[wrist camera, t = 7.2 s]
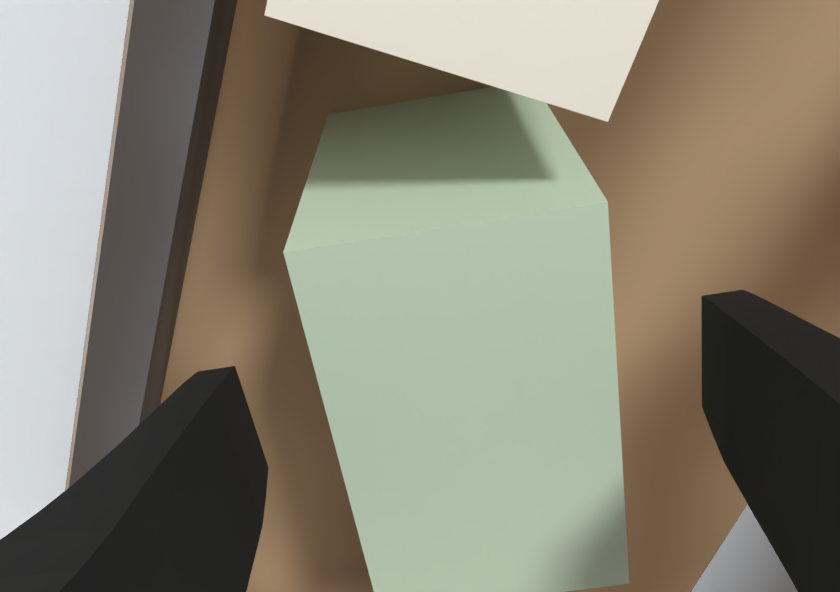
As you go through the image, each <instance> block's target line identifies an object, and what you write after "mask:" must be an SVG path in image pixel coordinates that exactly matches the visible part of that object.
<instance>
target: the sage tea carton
mask: <svg viewBox="0 0 840 592" xmlns="http://www.w3.org/2000/svg"><path fill="white" fill-rule="evenodd" d="M283 253H284V257H285V261H286V265H287V268H288V272H289V276H290V280H291V283H292V287H293V291H294V295H295V298H296V302H297V306H298V310H299V313H300V317H301V321H302V325H303V328H304V332H305V336H306V340H307V343H308V347H309V351H310V355H311V358H312V362H313V366H314V370H315V373H316V377H317V381H318V385H319V388H320V392H321V396H322V400H323V403H324V407H325V411H326V415H327V418H328V422H329V426H330V430H331V433H332V437H333V441H334V445H335V448H336V452H337V456H338V460H339V463H340V467H341V471H342V475H343V478H344V482H345V486H346V490H347V493H348V497H349V501H350V505H351V508H352V512H353V516H354V520H355V523H356V527H357V531H358V535H359V538H360V542H361V546H362V550H363V553H364V557H365V561H366V565H367V568H368V572H369V576H370V580H371V583H372V587H373V591H374V592H566V591H574V590H582V589H590V588H598V587H606V586H614V585H621V584H629V569H628V551H627V533H626V515H625V498H624V480H623V462H622V444H621V427H620V409H619V391H618V373H617V355H616V338H615V320H614V302H613V284H612V267H611V249H610V231H609V213H608V201H607V199H606V198H605V196H604V195H603V193H602V191H601V190H600V188H599V187H598V185H597V183H596V182H595V180H594V179H593V177H592V175H591V174H590V172H589V171H588V169H587V167H586V166H585V164H584V163H583V161H582V159H581V158H580V156H579V154H578V153H577V151H576V150H575V148H574V146H573V145H572V143H571V142H570V140H569V138H568V137H567V135H566V134H565V132H564V130H563V129H562V127H561V126H560V124H559V122H558V121H557V119H556V118H555V116H554V114H553V113H552V111H551V109H550V108H549V106H548V105H547V103H545V102H542V101H539V100H536V99H532V98H529V97H526V96H523V95H519V94H516V93H513V92H510V91H507V90H503V89H500V88H497V87H494V86H493V87H487V88H481V89H475V90H469V91H463V92H457V93H451V94H445V95H439V96H433V97H427V98H421V99H415V100H409V101H403V102H397V103H391V104H385V105H379V106H373V107H367V108H361V109H355V110H349V111H343V112H337V113H331V114H328V117H327V120H326V123H325V126H324V129H323V132H322V135H321V138H320V141H319V144H318V147H317V150H316V153H315V157H314V160H313V163H312V166H311V169H310V172H309V175H308V178H307V181H306V184H305V187H304V190H303V193H302V196H301V199H300V203H299V206H298V209H297V212H296V215H295V218H294V221H293V224H292V227H291V230H290V233H289V236H288V239H287V242H286V245H285V249H284V252H283Z"/></svg>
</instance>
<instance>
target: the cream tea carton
mask: <svg viewBox="0 0 840 592" xmlns="http://www.w3.org/2000/svg"><path fill="white" fill-rule="evenodd" d="M658 2H659V0H267V5H266V9H265V14H264V15H265V16H268V17H271V18H275V19H278V20H281V21H284V22H288V23H291V24H294V25H297V26H300V27H304V28H307V29H310V30H313V31H317V32H320V33H323V34H326V35H329V36H333V37H336V38H339V39H342V40H346V41H349V42H352V43H355V44H358V45H362V46H365V47H368V48H371V49H375V50H378V51H381V52H384V53H387V54H391V55H394V56H397V57H400V58H403V59H407V60H410V61H413V62H416V63H420V64H423V65H426V66H429V67H432V68H436V69H439V70H442V71H445V72H449V73H452V74H455V75H458V76H461V77H465V78H468V79H471V80H474V81H478V82H481V83H484V84H487V85H490V86H494V87H497V88H500V89H503V90H507V91H510V92H513V93H516V94H519V95H523V96H526V97H529V98H532V99H536V100H539V101H542V102H545V103H548V104H552V105H555V106H558V107H561V108H565V109H568V110H571V111H574V112H577V113H581V114H584V115H587V116H590V117H594V118H597V119H600V120H603V121H606V122H608V121H609V118H610V116H611V113H612V111H613V109H614V106H615V104H616V102H617V99H618V97H619V94H620V92H621V90H622V87H623V85H624V83H625V80H626V78H627V75H628V73H629V71H630V68H631V66H632V63H633V61H634V59H635V56H636V54H637V52H638V49H639V47H640V44H641V42H642V40H643V37H644V35H645V33H646V30H647V28H648V25H649V23H650V21H651V18H652V16H653V14H654V11H655V9H656V6H657V4H658Z"/></svg>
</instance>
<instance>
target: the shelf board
mask: <svg viewBox="0 0 840 592" xmlns="http://www.w3.org/2000/svg"><path fill="white" fill-rule="evenodd" d="M266 5H267V0H130V5H129V13H128V20H127V28H126V35H125V43H124V50H123V58H122V65H121V73H120V81H119V88H118V96H117V103H116V111H115V118H114V126H113V133H112V141H111V149H110V156H109V164H108V171H107V179H106V186H105V194H104V201H103V209H102V216H101V224H100V232H99V239H98V247H97V254H96V262H95V269H94V277H93V284H92V292H91V299H90V307H89V315H88V322H87V330H86V337H85V345H84V352H83V360H82V367H81V375H80V383H79V390H78V398H77V405H76V413H75V420H74V428H73V435H72V443H71V450H70V458H69V466H68V473H67V481H66V488H65V491H66V490H67V489H68V488H69V487H70V486H72V485H73V484H74V483H75V482H76V481H77V480H78V479H80V478H81V477H82V476H83V475H84V474H85V473H87V472H88V471H89V470H90V469H91V468H92V467H93V466H95V465H96V464H97V463H98V462H99V461H100V460H101V459H103V458H104V457H105V456H106V455H107V454H108V453H110V452H111V451H112V450H113V449H114V448H115V447H116V446H117V445H118V444H119V443H121V442H122V441H123V440H124V439H125V438H126V437H127V436H128V435H129V434H130V433H131V432H132V431H133V430H134V429H135V428H136V427H137V426H139V425H140V424H141V423H142V422H143V421H144V420H145V419H146V418H147V417H148V416H149V415H150V414H151V413H152V412H153V411H154V410H155V409H156V408H157V407H158V406H160V405H161V404H162V403H163V402H164V401H165V400H166V399H167V398H168V397H169V396H170V395H171V394H172V393H173V392H174V391H175V390H176V389H177V388H179V387H180V386H181V385H182V384H183V383H184V382H185V381H186V380H188V379H189V378H190V377H191V376H192V375H194V374H195V373H196V372H198V371H204V370H211V369H218V368H224V367H231V366H235V367H236V370H237V373H238V376H239V379H240V382H241V386H242V389H243V392H244V395H245V398H246V401H247V404H248V407H249V410H250V413H251V416H252V419H253V422H254V425H255V428H256V431H257V434H258V437H259V440H260V443H261V446H262V449H263V452H264V455H265V458H266V461H267V464H268V467H269V468H268V480H267V491H266V501H265V510H264V518H263V525H262V530H261V534H260V538H259V543H258V547H257V551H256V555H255V559H254V563H253V567H252V571H251V575H250V579H249V583H248V587H247V591H246V592H374V591H373V587H372V583H371V580H370V576H369V572H368V568H367V565H366V561H365V557H364V553H363V550H362V546H361V542H360V538H359V535H358V531H357V527H356V523H355V520H354V516H353V512H352V508H351V505H350V501H349V497H348V493H347V490H346V486H345V482H344V478H343V475H342V471H341V467H340V463H339V460H338V456H337V452H336V448H335V445H334V441H333V437H332V433H331V430H330V426H329V422H328V418H327V415H326V411H325V407H324V403H323V400H322V396H321V392H320V388H319V385H318V381H317V377H316V373H315V370H314V366H313V362H312V358H311V355H310V351H309V347H308V343H307V340H306V336H305V332H304V328H303V325H302V321H301V317H300V313H299V310H298V306H297V302H296V298H295V295H294V291H293V287H292V283H291V280H290V276H289V272H288V268H287V265H286V261H285V257H284V253H283V252H284V249H285V245H286V242H287V239H288V236H289V233H290V230H291V227H292V224H293V221H294V218H295V215H296V212H297V209H298V206H299V203H300V199H301V196H302V193H303V190H304V187H305V184H306V181H307V178H308V175H309V172H310V169H311V166H312V163H313V160H314V157H315V153H316V150H317V147H318V144H319V141H320V138H321V135H322V132H323V129H324V126H325V123H326V120H327V117H328V114H331V113H337V112H343V111H349V110H355V109H361V108H367V107H373V106H379V105H385V104H391V103H397V102H403V101H409V100H415V99H421V98H427V97H433V96H439V95H445V94H451V93H457V92H463V91H469V90H475V89H481V88H487V87H493V86H490V85H487V84H484V83H481V82H478V81H474V80H471V79H468V78H465V77H461V76H458V75H455V74H452V73H449V72H445V71H442V70H439V69H436V68H432V67H429V66H426V65H423V64H420V63H416V62H413V61H410V60H407V59H403V58H400V57H397V56H394V55H391V54H387V53H384V52H381V51H378V50H375V49H371V48H368V47H365V46H362V45H358V44H355V43H352V42H349V41H346V40H342V39H339V38H336V37H333V36H329V35H326V34H323V33H320V32H317V31H313V30H310V29H307V28H304V27H300V26H297V25H294V24H291V23H288V22H284V21H281V20H278V19H275V18H271V17H268V16H265V15H264V14H265V9H266ZM547 105H548V106H549V108H550V109H551V111H552V113H553V114H554V116H555V118H556V119H557V121H558V122H559V124H560V126H561V127H562V129H563V130H564V132H565V134H566V135H567V137H568V138H569V140H570V142H571V143H572V145H573V146H574V148H575V150H576V151H577V153H578V154H579V156H580V158H581V159H582V161H583V163H584V164H585V166H586V167H587V169H588V171H589V172H590V174H591V175H592V177H593V179H594V180H595V182H596V183H597V185H598V187H599V188H600V190H601V191H602V193H603V195H604V196H605V198H606V199H607V201H608V213H609V231H610V249H611V267H612V284H613V302H614V320H615V338H616V355H617V373H618V391H619V409H620V427H621V444H622V462H623V480H624V498H625V515H626V533H627V551H628V569H629V584H621V585H614V586H606V587H598V588H590V589H582V590H574V591H566V592H691V591H692V589H693V588H694V586H695V584H696V583H697V581H698V580H699V578H700V577H701V575H702V574H703V572H704V570H705V569H706V567H707V566H708V564H709V563H710V561H711V560H712V558H713V557H714V555H715V553H716V552H717V550H718V549H719V547H720V546H721V544H722V543H723V541H724V540H725V538H726V536H727V535H728V533H729V532H730V530H731V529H732V527H733V526H734V524H735V522H736V521H737V519H738V518H739V516H740V515H741V513H742V512H743V510H744V509H745V507H746V505H747V502H746V500H745V498H744V497H743V495H742V493H741V491H740V490H739V488H738V486H737V484H736V482H735V481H734V479H733V477H732V475H731V474H730V472H729V470H728V468H727V466H726V465H725V463H724V461H723V458H722V456H721V454H720V451H719V449H718V446H717V444H716V442H715V439H714V437H713V434H712V432H711V429H710V426H709V424H708V421H707V419H706V416H705V413H704V411H703V408H702V300H701V296H703V295H710V294H717V293H723V292H730V291H737V290H745V291H748V292H750V293H752V294H754V295H756V296H759V297H761V298H763V299H765V300H767V301H769V302H771V303H773V304H775V305H776V306H778V307H780V308H782V309H784V310H786V311H788V312H790V313H792V314H794V315H796V316H798V317H800V318H801V319H803V320H805V321H807V322H809V323H811V324H813V325H815V326H817V327H819V328H821V329H823V330H825V331H827V332H829V333H831V334H833V335H835V336H837V337H839V338H840V0H659V2H658V4H657V6H656V9H655V11H654V14H653V16H652V18H651V21H650V23H649V25H648V28H647V30H646V33H645V35H644V37H643V40H642V42H641V44H640V47H639V49H638V52H637V54H636V56H635V59H634V61H633V63H632V66H631V68H630V71H629V73H628V75H627V78H626V80H625V83H624V85H623V87H622V90H621V92H620V94H619V97H618V99H617V102H616V104H615V106H614V109H613V111H612V113H611V116H610V118H609V121H608V122H606V121H603V120H600V119H597V118H594V117H590V116H587V115H584V114H581V113H577V112H574V111H571V110H568V109H565V108H561V107H558V106H555V105H552V104H548V103H547Z"/></svg>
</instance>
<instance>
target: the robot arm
mask: <svg viewBox="0 0 840 592" xmlns="http://www.w3.org/2000/svg"><path fill="white" fill-rule="evenodd" d="M701 300H702V408H703V411H704V413H705V416H706V419H707V421H708V424H709V426H710V429H711V432H712V434H713V437H714V439H715V442H716V444H717V446H718V449H719V451H720V454H721V456H722V458H723V461H724V463H725V465H726V466H727V468H728V470H729V472H730V474H731V475H732V477H733V479H734V481H735V482H736V484H737V486H738V488H739V490H740V491H741V493H742V495H743V497H744V498H745V500H746V502H747V504H748V505H749V507H750V509H751V511H752V512H753V514H754V516H755V517H756V519H757V521H758V523H759V524H760V526H761V528H762V529H763V531H764V533H765V535H766V536H767V538H768V540H769V542H770V543H771V545H772V547H773V548H774V550H775V552H776V554H777V555H778V557H779V559H780V561H781V562H782V564H783V566H784V567H785V569H786V571H787V573H788V574H789V576H790V578H791V580H792V581H793V583H794V585H795V587H796V589H797V591H798V592H840V338H839V337H837V336H835V335H833V334H831V333H829V332H827V331H825V330H823V329H821V328H819V327H817V326H815V325H813V324H811V323H809V322H807V321H805V320H803V319H801V318H800V317H798V316H796V315H794V314H792V313H790V312H788V311H786V310H784V309H782V308H780V307H778V306H776V305H775V304H773V303H771V302H769V301H767V300H765V299H763V298H761V297H759V296H756V295H754V294H752V293H750V292H748V291H745V290H737V291H730V292H723V293H717V294H710V295H703V296H701ZM268 468H269V467H268V464H267V461H266V458H265V455H264V452H263V449H262V446H261V443H260V440H259V437H258V434H257V431H256V428H255V425H254V422H253V419H252V416H251V413H250V410H249V407H248V404H247V401H246V398H245V395H244V392H243V389H242V386H241V382H240V379H239V376H238V373H237V370H236V367H235V366H231V367H224V368H218V369H211V370H204V371H198V372H196V373H195V374H194V375H192V376H191V377H190V378H189V379H188V380H186V381H185V382H184V383H183V384H182V385H181V386H180V387H179V388H177V389H176V390H175V391H174V392H173V393H172V394H171V395H170V396H169V397H168V398H167V399H166V400H165V401H164V402H163V403H162V404H161V405H160V406H158V407H157V408H156V409H155V410H154V411H153V412H152V413H151V414H150V415H149V416H148V417H147V418H146V419H145V420H144V421H143V422H142V423H141V424H140V425H139V426H137V427H136V428H135V429H134V430H133V431H132V432H131V433H130V434H129V435H128V436H127V437H126V438H125V439H124V440H123V441H122V442H121V443H119V444H118V445H117V446H116V447H115V448H114V449H113V450H112V451H111V452H110V453H108V454H107V455H106V456H105V457H104V458H103V459H101V460H100V461H99V462H98V463H97V464H96V465H95V466H93V467H92V468H91V469H90V470H89V471H88V472H87V473H85V474H84V475H83V476H82V477H81V478H80V479H78V480H77V481H76V482H75V483H74V484H73V485H72V486H70V487H69V488H68V489H67V490H66V491H65V492H63V493H62V494H61V495H60V496H58V497H57V498H56V499H55V500H53V501H52V502H51V503H50V504H48V505H47V506H46V507H44V508H43V509H42V510H41V511H39V512H38V513H37V514H35V515H34V516H33V517H31V518H30V519H28V520H27V521H26V522H24V523H23V524H22V525H20V526H19V527H18V528H16V529H15V530H13V531H12V532H11V533H9V534H8V535H7V536H5V537H4V538H2V539H1V540H0V592H246V591H247V587H248V583H249V579H250V575H251V571H252V567H253V563H254V559H255V555H256V551H257V547H258V543H259V538H260V534H261V530H262V525H263V518H264V510H265V501H266V491H267V480H268Z"/></svg>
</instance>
